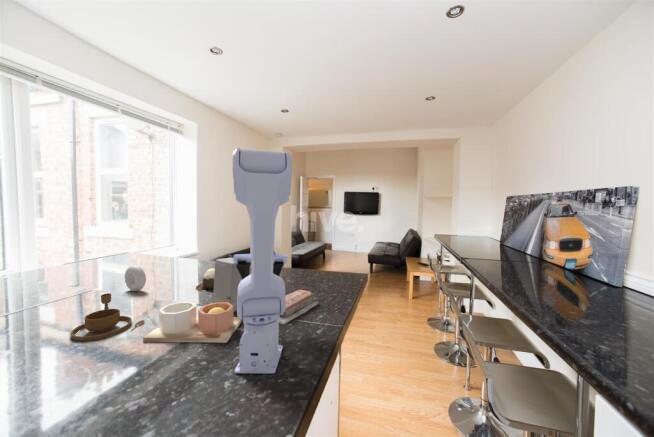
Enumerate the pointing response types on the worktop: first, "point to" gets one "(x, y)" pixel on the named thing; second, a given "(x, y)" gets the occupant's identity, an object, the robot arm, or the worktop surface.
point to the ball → (216, 310)
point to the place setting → (103, 322)
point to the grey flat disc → (135, 278)
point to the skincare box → (226, 282)
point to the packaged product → (297, 305)
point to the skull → (207, 281)
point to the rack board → (192, 334)
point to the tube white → (177, 317)
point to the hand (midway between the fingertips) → (261, 288)
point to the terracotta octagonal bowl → (215, 318)
